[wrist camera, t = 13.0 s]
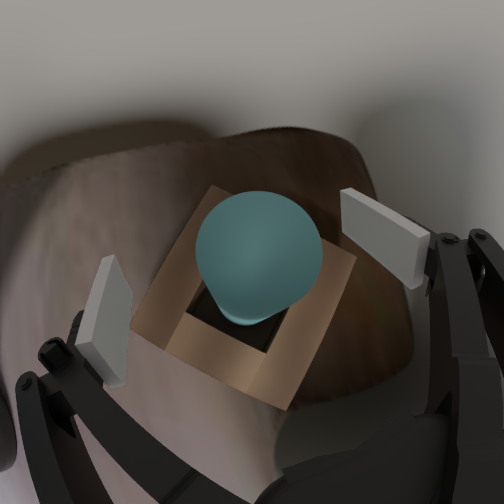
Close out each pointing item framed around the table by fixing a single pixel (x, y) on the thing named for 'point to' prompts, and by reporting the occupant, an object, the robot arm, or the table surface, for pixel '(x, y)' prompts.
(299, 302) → the walnut hole block
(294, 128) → the table surface
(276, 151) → the table surface
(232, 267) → the teal pin
